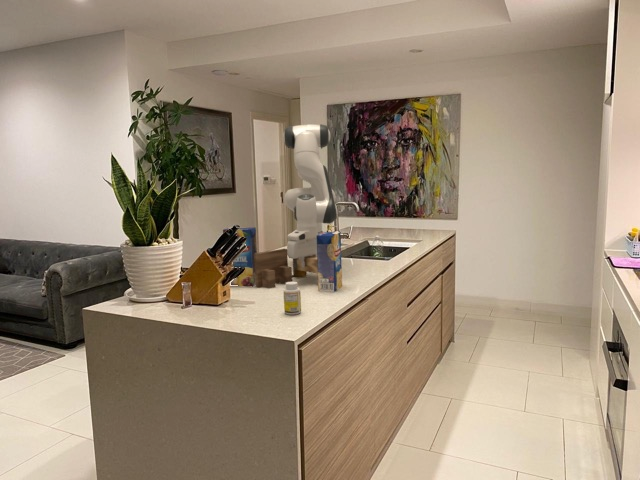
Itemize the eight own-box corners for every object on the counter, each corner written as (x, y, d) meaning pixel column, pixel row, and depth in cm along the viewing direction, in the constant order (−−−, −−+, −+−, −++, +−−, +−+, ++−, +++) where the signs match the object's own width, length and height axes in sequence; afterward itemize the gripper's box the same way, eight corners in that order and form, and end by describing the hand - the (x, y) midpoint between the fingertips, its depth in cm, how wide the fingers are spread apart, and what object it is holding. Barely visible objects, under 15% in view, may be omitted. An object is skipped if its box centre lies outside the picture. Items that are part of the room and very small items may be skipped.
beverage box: (342, 285, 201) (340, 232, 198) (335, 291, 191) (333, 235, 188) (326, 284, 203) (324, 232, 200) (318, 291, 193) (316, 235, 190)
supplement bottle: (292, 309, 167) (291, 280, 166) (304, 312, 164) (303, 282, 162) (280, 313, 163) (279, 283, 162) (293, 316, 160) (291, 285, 158)
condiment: (310, 276, 222) (309, 250, 220) (294, 279, 217) (293, 252, 215) (302, 274, 228) (301, 248, 226) (286, 276, 223) (284, 250, 222)
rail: (327, 272, 205) (326, 258, 204) (319, 274, 202) (319, 259, 201) (301, 267, 216) (300, 253, 215) (294, 269, 213) (293, 255, 212)
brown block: (295, 282, 210) (294, 250, 208) (265, 289, 199) (264, 255, 197) (285, 280, 215) (284, 248, 213) (255, 286, 204) (253, 253, 202)
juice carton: (258, 282, 212) (255, 227, 209) (253, 286, 205) (250, 229, 201) (232, 282, 214) (228, 227, 211) (226, 286, 207) (222, 229, 203)
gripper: (320, 230, 216) (321, 260, 219) (284, 235, 203) (285, 268, 205) (330, 231, 212) (331, 262, 214) (294, 237, 198) (295, 270, 200)
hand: (308, 265), depth 209 cm, fingers closed on rail, 4 cm apart
